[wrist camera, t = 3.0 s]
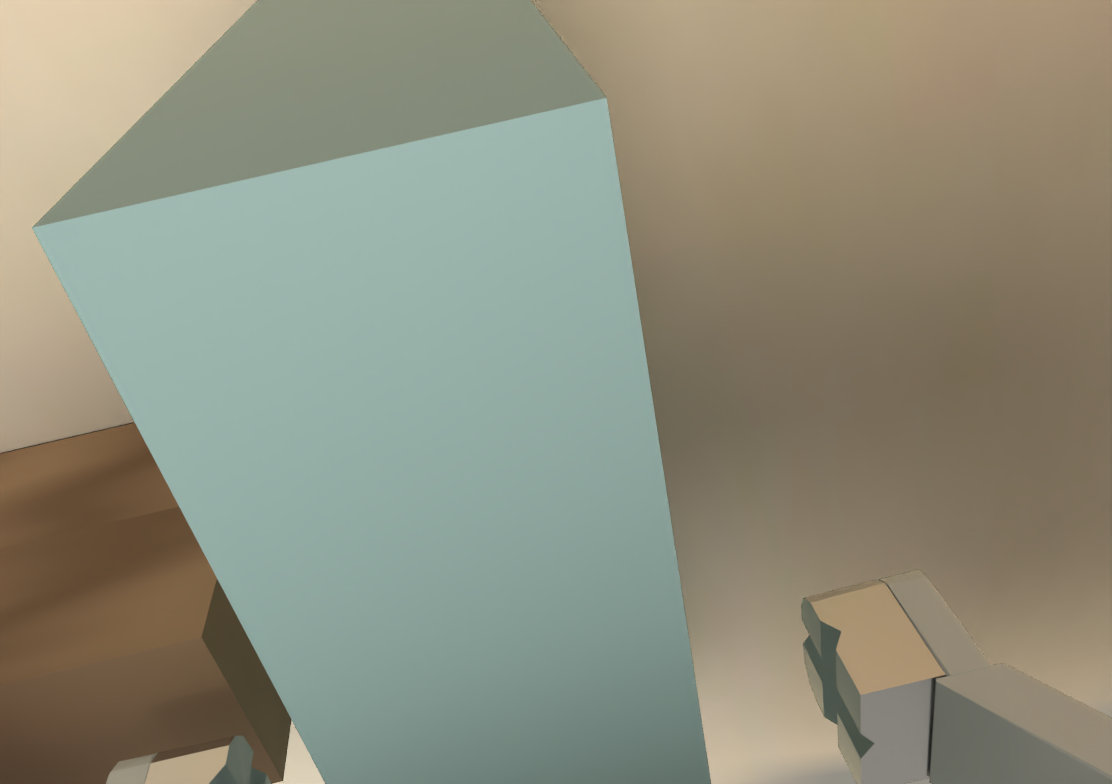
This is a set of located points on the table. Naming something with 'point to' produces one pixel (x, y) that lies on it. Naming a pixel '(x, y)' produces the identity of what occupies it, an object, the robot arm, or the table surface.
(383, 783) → the teal plate
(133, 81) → the table surface
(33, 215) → the table surface
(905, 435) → the table surface
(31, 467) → the walnut notched block
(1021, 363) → the table surface
